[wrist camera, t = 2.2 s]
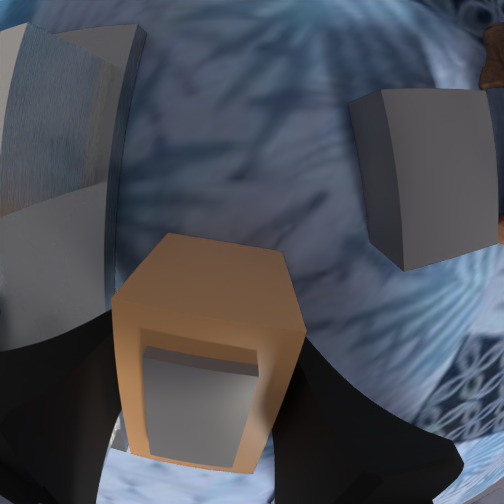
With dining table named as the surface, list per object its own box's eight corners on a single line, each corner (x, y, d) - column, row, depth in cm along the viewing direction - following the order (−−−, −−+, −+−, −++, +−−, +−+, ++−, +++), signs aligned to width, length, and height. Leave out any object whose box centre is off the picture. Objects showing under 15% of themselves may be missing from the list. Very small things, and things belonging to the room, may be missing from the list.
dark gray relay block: (437, 98, 9) (485, 91, 6) (451, 221, 10) (497, 243, 8) (345, 104, 9) (380, 89, 6) (367, 240, 11) (403, 271, 8)
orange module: (281, 250, 11) (310, 342, 6) (251, 378, 13) (253, 483, 7) (168, 231, 10) (103, 308, 5) (161, 363, 12) (128, 462, 7)
